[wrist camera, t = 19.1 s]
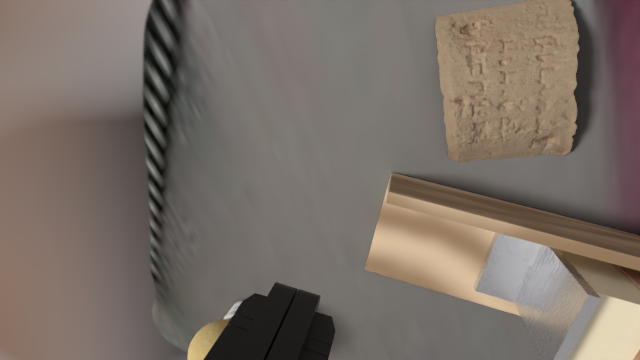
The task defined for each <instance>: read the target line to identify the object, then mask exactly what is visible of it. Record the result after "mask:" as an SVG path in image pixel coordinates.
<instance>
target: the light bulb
mask: <svg viewBox="0 0 640 360" xmlns="http://www.w3.org/2000/svg"><path fill="white" fill-rule="evenodd" d="M241 303H242V301H239V302H237V303H235V304H234V305H233V306H232V308H231V309H230V310H229V312H228V313H227V315H226V316H225V317H224V319H222V320H217V321H214V322H211V323H209V324H207V325H206V326H204V327H203V328H201V329H200V330H199V331H198V332H197V334H196V335H195V336H194V338H193V340H192V341H191V344H190V346H189V350H188V360H204V358H205V357H206V355H207V354H208V352H209V351H210V349H211V348H212V346H213V345H214V343H215V342H216V340H217V339H218V337H219V336H220V334H221V333H222V331H223V330H224V328H225V327H226V326H227V325H228V322H229V321H230V319H231V318H232V316H234V314H235V312H236V310H237V309H238V307H239V306H240V304H241Z"/></svg>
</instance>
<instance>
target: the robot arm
mask: <svg viewBox="0 0 640 360" xmlns="http://www.w3.org/2000/svg"><path fill="white" fill-rule="evenodd" d="M319 301H320V295H316V294H313V293H310V292H307V291H303V290H300V289H299V290H298V289H296V288H293V287H290V286H287V285H283V284H280V283H277V282H276V283H275V284H274V286H273V287H272V289H271V291H270V293H269V294H268V296H267V297H266V296H263V295H260V294H256V293H255V294H253V295H252V296H250V297H249V298H247V299H245V300H244V301H242V303H241V304H240V306H239V307H238V309H237V310H236V312H235V314H234V316H232V318H231V319H230V321H229V322H228V325H227V326H226V327H225V328H224V330H223V331H222V333H221V334H220V336H219V337H218V339H217V340H216V342H215V343H214V345H213V346H212V348H211V349H210V351H209V352H208V354H207V355H206V357H205V358H204V360H328V357H329V353H330V349H331V345H332V342H333V338H334V334H335V328H334V324H333V320H332V317H330V316H327V315H324V314H321V313H317V310H318V305H319Z"/></svg>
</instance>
